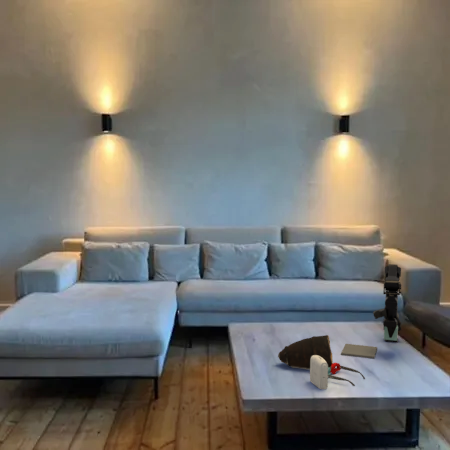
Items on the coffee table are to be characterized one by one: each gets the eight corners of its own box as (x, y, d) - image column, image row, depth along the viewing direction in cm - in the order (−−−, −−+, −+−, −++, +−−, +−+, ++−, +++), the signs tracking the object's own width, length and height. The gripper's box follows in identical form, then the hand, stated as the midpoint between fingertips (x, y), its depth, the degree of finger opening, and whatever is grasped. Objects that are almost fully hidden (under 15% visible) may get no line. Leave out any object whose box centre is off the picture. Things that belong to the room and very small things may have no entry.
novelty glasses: (336, 371, 238) (336, 360, 237) (366, 378, 228) (367, 367, 228) (321, 380, 227) (321, 369, 227) (352, 388, 218) (352, 377, 217)
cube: (384, 336, 261) (385, 324, 260) (397, 337, 259) (397, 325, 258) (384, 339, 255) (384, 327, 255) (396, 340, 253) (397, 328, 253)
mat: (345, 345, 274) (345, 343, 273) (377, 348, 268) (377, 346, 268) (340, 355, 259) (341, 353, 259) (374, 358, 253) (374, 356, 253)
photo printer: (329, 389, 216) (329, 360, 215) (319, 390, 215) (320, 361, 214) (317, 380, 226) (317, 352, 225) (308, 381, 225) (308, 353, 224)
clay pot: (275, 336, 251) (327, 328, 246) (281, 365, 253) (333, 358, 249) (274, 350, 236) (329, 342, 232) (280, 380, 239) (335, 373, 234)
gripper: (376, 299, 267) (375, 329, 268) (372, 307, 250) (372, 339, 251) (399, 301, 263) (398, 331, 265) (397, 309, 246) (396, 341, 247)
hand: (390, 335), depth 257 cm, fingers closed on cube, 6 cm apart
